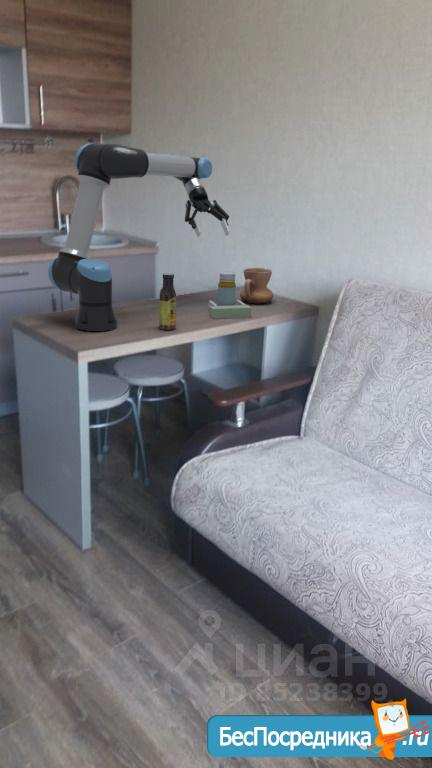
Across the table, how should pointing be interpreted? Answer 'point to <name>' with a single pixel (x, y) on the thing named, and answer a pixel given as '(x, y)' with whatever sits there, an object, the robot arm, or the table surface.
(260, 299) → the ceramic jug
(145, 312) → the table surface
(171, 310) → the sauce bottle
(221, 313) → the green-backed grey tray
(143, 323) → the table surface
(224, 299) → the bottle
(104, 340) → the table surface
